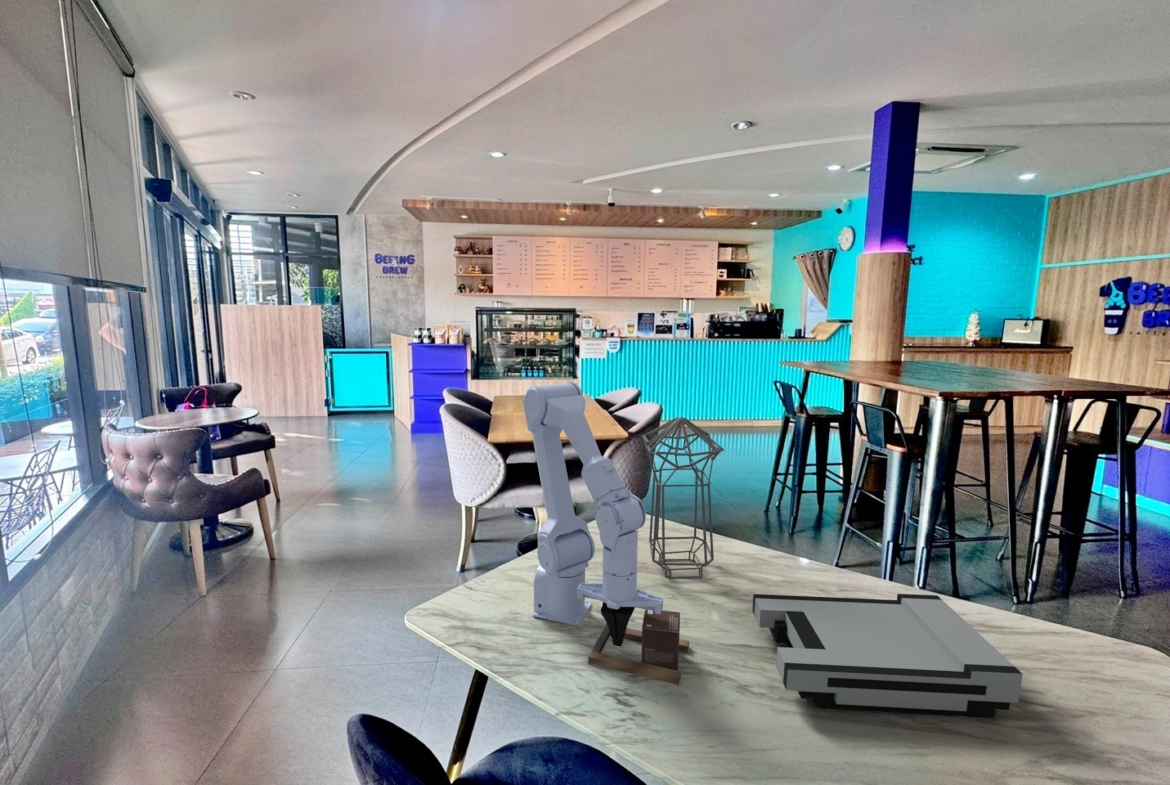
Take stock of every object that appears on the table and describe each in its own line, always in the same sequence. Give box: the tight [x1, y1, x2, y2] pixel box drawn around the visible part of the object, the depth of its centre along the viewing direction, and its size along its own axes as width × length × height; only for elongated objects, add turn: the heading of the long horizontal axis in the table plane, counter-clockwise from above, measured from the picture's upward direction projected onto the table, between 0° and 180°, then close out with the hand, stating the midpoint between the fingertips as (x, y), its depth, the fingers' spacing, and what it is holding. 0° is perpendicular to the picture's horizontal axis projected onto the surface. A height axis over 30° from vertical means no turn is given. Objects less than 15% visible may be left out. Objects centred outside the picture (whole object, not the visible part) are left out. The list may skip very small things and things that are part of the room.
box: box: [640, 609, 681, 671], centre depth 90 cm, size 6×6×7 cm
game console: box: [752, 593, 1023, 719], centre depth 87 cm, size 21×32×8 cm, turn 86°
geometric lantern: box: [641, 416, 725, 579], centre depth 118 cm, size 16×16×35 cm
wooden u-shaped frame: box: [587, 623, 690, 686], centre depth 91 cm, size 15×10×1 cm, turn 70°
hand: (618, 642), depth 92 cm, fingers closed
